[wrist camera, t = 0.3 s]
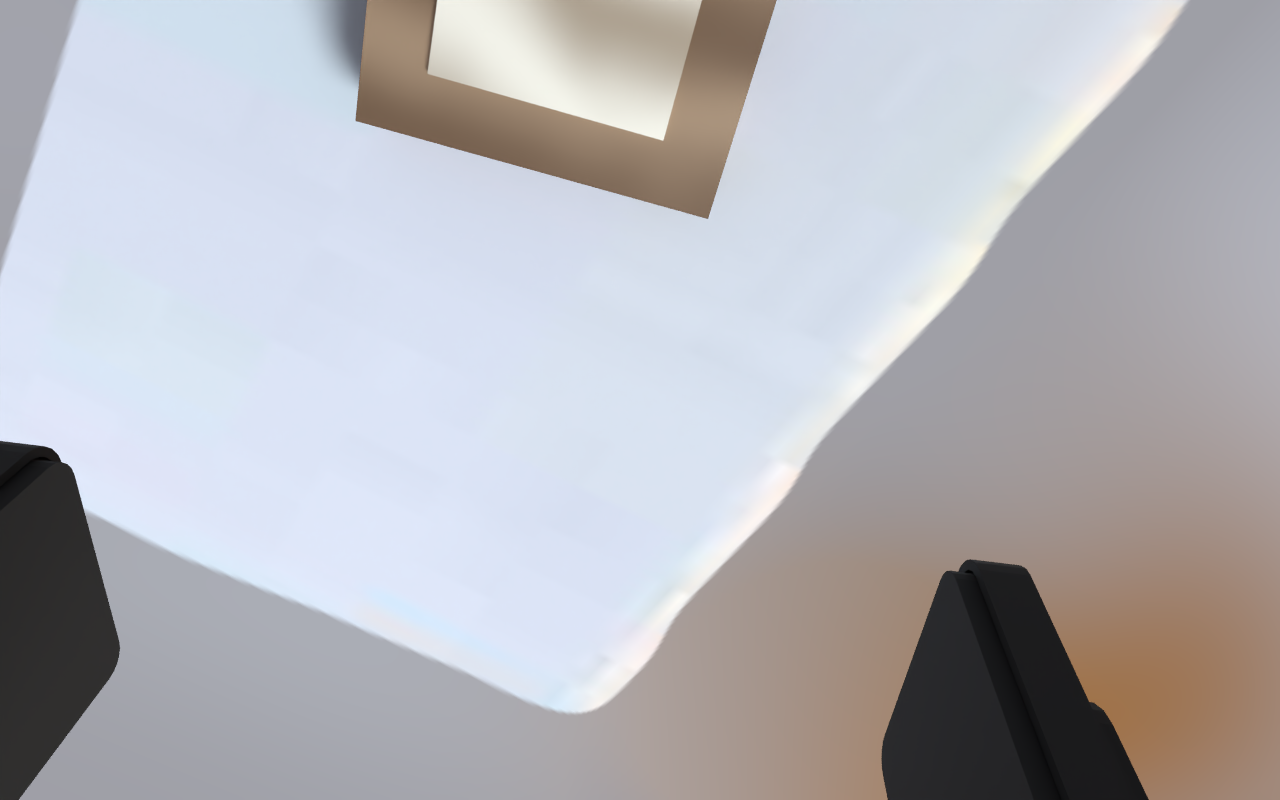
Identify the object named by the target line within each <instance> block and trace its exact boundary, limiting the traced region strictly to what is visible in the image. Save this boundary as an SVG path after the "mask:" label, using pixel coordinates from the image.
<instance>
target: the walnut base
mask: <svg viewBox="0 0 1280 800" xmlns="http://www.w3.org/2000/svg"><path fill="white" fill-rule="evenodd" d="M776 1H777V0H367V7H366V18H365V28H364V38H363V49H362V59H361V69H360V80H359V90H358V100H357V111H356V121H358V122H362V123H365V124H369V125H373V126H376V127H380V128H383V129H387V130H391V131H394V132H398V133H401V134H405V135H409V136H412V137H416V138H419V139H423V140H426V141H430V142H434V143H437V144H441V145H444V146H448V147H452V148H455V149H459V150H462V151H466V152H470V153H473V154H477V155H480V156H484V157H488V158H491V159H495V160H498V161H502V162H506V163H509V164H513V165H516V166H520V167H523V168H527V169H531V170H534V171H538V172H541V173H545V174H549V175H552V176H556V177H559V178H563V179H567V180H570V181H574V182H577V183H581V184H585V185H588V186H592V187H595V188H599V189H603V190H606V191H610V192H613V193H617V194H620V195H624V196H628V197H631V198H635V199H638V200H642V201H646V202H649V203H653V204H656V205H660V206H664V207H667V208H671V209H674V210H678V211H682V212H685V213H689V214H692V215H696V216H700V217H703V218H707V219H708V217H709V213H710V210H711V207H712V204H713V201H714V198H715V194H716V191H717V188H718V185H719V182H720V179H721V175H722V172H723V169H724V166H725V163H726V159H727V156H728V153H729V150H730V147H731V144H732V140H733V137H734V134H735V131H736V128H737V124H738V121H739V118H740V115H741V112H742V109H743V105H744V102H745V99H746V96H747V93H748V90H749V86H750V83H751V80H752V77H753V74H754V70H755V67H756V64H757V61H758V58H759V55H760V51H761V48H762V45H763V42H764V39H765V35H766V32H767V29H768V26H769V23H770V20H771V16H772V13H773V10H774V7H775V4H776Z"/></svg>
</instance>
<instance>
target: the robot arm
mask: <svg viewBox="0 0 1280 800" xmlns="http://www.w3.org/2000/svg"><path fill="white" fill-rule="evenodd" d="M119 651H120V645H119V640H118V635H117V632H116V628H115V624H114V621H113V617H112V613H111V610H110V606H109V602H108V598H107V595H106V591H105V588H104V584H103V580H102V576H101V572H100V568H99V565H98V561H97V557H96V553H95V550H94V546H93V543H92V539H91V535H90V531H89V527H88V524H87V520H86V516H85V513H84V509H83V505H82V501H81V498H80V494H79V490H78V487H77V483H76V479H75V475H74V473H73V471H72V468H71V467H70V466H69V465H68V464H65V463H62V462H61V460H60V458H59V456H58V454H57V453H56V452H55V451H54V450H53V449H51V448H48V447H45V446H37V445H28V444H20V443H12V442H4V441H0V800H19V799H20V797H21V796H22V795H23V793H24V792H25V790H26V789H27V788H28V786H29V785H30V784H31V783H32V781H33V780H34V779H35V777H36V776H37V775H38V773H39V772H40V770H41V769H42V768H43V766H44V765H45V764H46V763H47V761H48V760H49V758H50V757H51V756H52V755H53V753H54V752H55V750H56V749H57V748H58V747H59V745H60V744H61V743H62V741H63V740H64V738H65V737H66V736H67V734H68V733H69V732H70V730H71V729H72V728H73V726H74V725H75V724H76V722H77V721H78V720H79V718H80V717H81V716H82V714H83V713H84V712H85V710H86V709H87V708H88V706H89V705H90V704H91V702H92V701H93V700H94V698H95V697H96V696H97V694H98V693H99V692H100V690H101V689H102V688H103V686H104V685H105V684H106V682H107V681H108V680H109V678H110V677H111V675H112V673H113V672H114V669H115V667H116V665H117V662H118V658H119ZM882 771H883V777H884V782H885V787H886V792H887V798H888V800H1149V799H1148V797H1147V796H1146V793H1145V791H1144V789H1143V787H1142V785H1141V783H1140V781H1139V779H1138V776H1137V774H1136V772H1135V770H1134V768H1133V766H1132V764H1131V762H1130V760H1129V758H1128V756H1127V754H1126V751H1125V749H1124V747H1123V745H1122V743H1121V741H1120V739H1119V737H1118V735H1117V733H1116V731H1115V728H1114V726H1113V725H1112V723H1111V721H1110V720H1109V718H1108V716H1107V715H1106V713H1105V712H1104V710H1102V709H1101V708H1100V707H1098V706H1097V705H1096V704H1095V703H1092V702H1089V701H1088V699H1087V696H1086V694H1085V692H1084V690H1083V688H1082V685H1081V683H1080V681H1079V679H1078V677H1077V675H1076V673H1075V670H1074V668H1073V666H1072V664H1071V662H1070V660H1069V658H1068V655H1067V653H1066V651H1065V649H1064V647H1063V645H1062V643H1061V640H1060V638H1059V636H1058V634H1057V632H1056V629H1055V627H1054V625H1053V623H1052V621H1051V619H1050V616H1049V614H1048V612H1047V610H1046V608H1045V606H1044V604H1043V601H1042V599H1041V597H1040V595H1039V593H1038V590H1037V588H1036V586H1035V584H1034V582H1033V580H1032V578H1031V576H1030V574H1029V572H1028V571H1027V569H1025V568H1024V567H1022V566H1019V565H1012V564H1004V563H995V562H987V561H978V560H966V561H965V562H964V563H963V564H962V565H961V567H960V569H959V571H958V572H956V571H946V572H945V573H944V574H943V576H942V578H941V580H940V583H939V586H938V588H937V591H936V594H935V597H934V599H933V602H932V605H931V608H930V611H929V613H928V616H927V619H926V622H925V625H924V627H923V630H922V633H921V636H920V638H919V641H918V644H917V647H916V650H915V652H914V655H913V658H912V661H911V664H910V666H909V669H908V672H907V675H906V678H905V680H904V683H903V686H902V689H901V691H900V694H899V697H898V700H897V703H896V705H895V708H894V711H893V714H892V717H891V719H890V722H889V725H888V728H887V731H886V733H885V737H884V740H883V746H882Z"/></svg>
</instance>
